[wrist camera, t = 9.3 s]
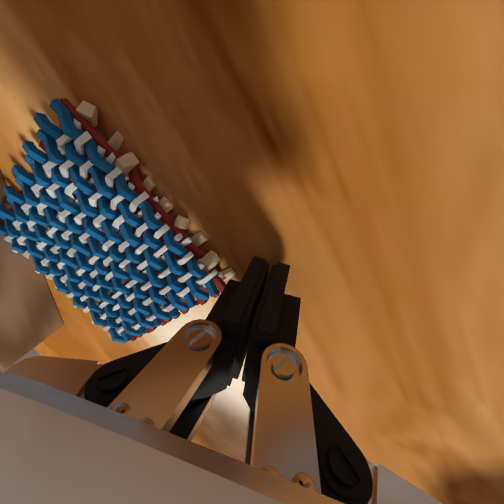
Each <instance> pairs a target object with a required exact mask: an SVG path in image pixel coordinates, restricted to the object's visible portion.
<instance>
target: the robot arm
mask: <svg viewBox="0 0 504 504" xmlns="http://www.w3.org/2000/svg"><path fill="white" fill-rule="evenodd" d="M265 262H266V259H262V258H258V257H253V259H252V261H251V263H250V265H249V267H248V269H247V271H246V273H245V275H244V277H243V279H242V280H241V282H239V281H235V280H229V281H228V283H227V285H226V286H225V288H224V290H223V291H222V293H221V295H220V296H219V298H218V300H217V301H216V303H215V305H214V306H213V308H212V310H211V311H210V313H209V315H208V316H207V318H206V320H201V319H199V320H194V321H191V322H189V323H187V324H185V325H184V326H183V327H182V328H181V329H180V330H179V331H178V332H177V333H176V334H175V335H174V336H173V337H172V338H171V339H170V340H169V342H166V343H163V344H160V345H157V346H154V347H151V348H148V349H145V350H142V351H139V352H137V353H134V354H131V355H128V356H125V357H122V358H119V359H116V360H113V361H111V362H108V363H106V364H104V365H102V364H100V363H99V361H92V360H81V359H70V358H59V357H48V356H35V357H30V358H27V359H24V360H22V361H20V362H18V363H16V364H14V365H13V366H11V367H10V368H9V369H8V370H7V371H5V372H4V373H2V372H0V504H443V503H441V502H439V501H438V500H436V499H435V498H433V497H431V496H430V495H428V494H427V493H425V492H423V491H422V490H420V489H419V488H417V487H416V486H414V485H412V484H411V483H409V482H408V481H406V480H404V479H403V478H401V477H400V476H398V475H396V474H395V473H393V472H392V471H390V470H388V469H387V468H385V467H384V466H382V465H381V464H379V463H378V464H377V465H374V464H372V463H371V462H369V461H368V460H366V459H365V457H364V455H363V454H362V452H361V450H360V449H359V448H358V446H357V445H356V444H355V442H354V441H353V440H352V438H351V437H350V436H349V434H348V433H347V432H346V430H345V429H344V428H343V426H342V425H341V424H340V422H339V421H338V420H337V418H336V417H335V416H334V414H333V413H332V412H331V410H330V409H329V408H328V407H327V405H326V404H325V403H324V401H323V400H322V399H321V397H320V396H319V395H318V393H317V392H316V391H315V389H314V388H313V387H312V385H311V384H310V383H309V375H308V367H307V363H306V360H305V358H304V357H303V355H302V354H301V353H300V352H299V351H298V350H297V349H296V348H295V344H296V336H297V327H298V318H299V310H300V301H301V299H300V298H298V297H294V296H291V295H287V294H284V291H285V286H286V282H287V277H288V273H289V268H290V265H287V264H282V263H278V265H273V266H272V269H271V272H270V274H269V277H268V280H267V283H266V279H267V274H268V269H269V263H265ZM265 284H266V286H265ZM246 353H247V354H246ZM245 356H246V359H245ZM244 359H245V365H244V370H243V376H242V381H244V382H245V387H244V392H243V396H244V398H245V400H246V402H247V404H248V406H249V408H250V410H249V416H248V425H247V435H246V444H245V453H244V462H241V461H238V460H236V459H233V458H231V457H228V456H226V455H223V454H221V453H218V452H216V451H213V450H211V449H208V448H206V447H203V446H201V445H198V444H196V443H193V442H191V440H192V438H193V437H194V435H195V433H196V431H197V429H198V428H199V426H200V424H201V422H202V420H203V419H204V417H205V415H206V413H207V412H208V410H209V408H210V406H211V404H212V403H213V401H214V399H215V396H216V394H217V393H218V392H220V391H222V390H224V389H226V387H227V385H228V386H230V384H231V381H232V379H233V378H235V379H238V377H239V374H240V371H241V368H242V365H243V362H244Z"/></svg>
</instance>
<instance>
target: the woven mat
mask: <svg viewBox="0 0 504 504" xmlns="http://www.w3.org/2000/svg"><path fill="white" fill-rule="evenodd" d="M50 107H51V108H52V109H53V110H54V111H55V112H56V114H57V116H58V119H59V122H60V126H61V128H62V130H61V129H60V128H58V127H57V126H56V125H54V124H53V123H51V122H50V121H49V119H48V118H47V116H46V115H45V114H41V113H38V112H36V115H35V118H34V120H35V122H36V123H37V124H38V126H39V127H40V128H41V129H39V130H38V132H37V134H36V135H37V136H38V137H39V138H40V139H41V141H40V143H39V146H40V147H41V148H42V149H43V150H44V151H45V152H46V153H47V154H45V153H43V152H42V151H40V150H39V149H37V148H36V146H35V145H34V143H33V142H30V141H24V142H23V145H22V147H23V149H24V150H25V151H26V153H27V154H28V155H27V156H26V158H25V161H26V162H28V163H29V164H30V165H31V168H32V171H33V174H34V175H33V174H31V173H27V172H26V171H25V170H24V168H23V167H22V166H18V165H13V168H12V171H13V173H14V174H15V176H16V180H15V182H16V183H17V184H19V185H20V186H21V188H22V191H21V192H16V191H15V189H14V188H13V187H12V186H4V189H3V191H4V193H5V194H6V196H7V199H6V200H7V201H8V202H10V205H11V206H12V207H13V208H9V209H7V207H6V206H5V204H0V218H2V219H3V220H4V223H5V226H6V227H4V226H1V225H0V234H1V235H4V236H6V237H5V238H4V240H6V241H7V242H10V243H12V251H13V252H15V253H18V252H20V253H23V254H22V255H23V256H25V257H26V258H28V259H29V256H32V258H33V261H34V265H35V268H36V271H35V272H37V273H38V274H39V273H44V274H48V275H47V276H46V278H47V279H49V280H54V282H55V288H56V289H57V290H58V291H61V292H65V293H68V295H67V297H68V298H73V306H74V307H81V308H85V309H84V310H83V312H86V313H87V312H88V311H89V310H90V312H91V315H92V318H93V322H92V323H93V324H95V325H101V326H105V327H103V330H104V331H107V330H109V333H110V334H108V335H109V336H110V337H112V340H113V341H117V342H121V343H126V342H127V341H129V340H131V341H134V340H135V339H136V338H137V337H141V336H142V335H143V334H145V333H149V332H152V331H154V330H155V329H156V328H157V326H160V325H162V326H164V325H165V324H167V323H168V322H170V321H171V320H172V319H173V318H174V319H176V318H178V317H179V316H180V314H181V313H180V312H179V311H178V309H179V310H180V311H181V312H182V313H183V314H185V313H187V312H188V311H189V308H191V307H193V306H195V305H199V304H201V305H203V304H205V303H206V302H207V301H208V299H209V294H210V296H211V297H212V296H213V297H214V298H215V297H217V296H219V293H220V292H221V293H222V291H223V290H224V288H225V286H226V284H225V283H224V282H225V281H227V280H229V279H230V278H231V277H233V276H234V275H235V274H236V273H235V272H234V271H233V270H232V268H231V267H229V268H227V269H225V270H223V271H221V272H217V268H216V265H217V264H218V263H219V262H220V261H221V259H220V258H219V257H218V255H217V254H216V253H215V252H214V251H212V250H211V251H209V252H208V253H207V252H205V251H203V250H201V249H199V248H198V247H199V246H201V245H202V244H203V243H204V242H206V241H207V240H208V239H207V238H206V237H205V235H204V234H203V233H202V232H201V231H200V232H198V233H197V234H195V235H193V236H192V237H191V238H190V237H189V238H187V237H186V235H185V234H184V233H183V231H184V230H186V229H187V228H188V224H189V219H187V218H185V217H182V216H179V215H178V216H177V217H176V219H175V220H174V221H173V220H172V219H171V218H170V216H169V215H168V214H167V213H168V212H169V211H170V210H172V209H173V205H172V204H171V203H170V201H169V200H168V199H167V198H166V197H165V196H164V197H163V198H161V199H160V200H159V201H158V196H156V197H155V198H154V197H153V196H152V195H151V194H150V192H151V191H152V190H153V189H154V188H155V187H156V185H155V184H154V182H153V181H152V180H151V179H150V178H149V176H148V177H147V178H146V179H145V180H144V181H143V182H141V179H140V176H139V173H138V171H137V170H136V168H135V166H136V165H137V164H138V163H139V161H138V159H137V158H136V157H135V155H134V154H133V153H132V152H128V153H126V154H124V155H122V154H120V153H118V152H117V150H118V149H119V147H120V145H121V144H122V142H123V140H124V138H123V137H122V135H121V134H120V133H119V132H118V131H117V132H116V133H115V134H114V135H113V136H112V137H111V138H110V139H109V140H108V141H107V142H106V141H105V140H104V139H103V138H102V136H101V135H100V134H99V133H98V132H97V131H96V130H95V127H96V126H97V124H98V110H97V108H96V107H95V106H94V105H92V104H90V103H88V102H86V101H84V100H83V101H82V102H81V104H80V105H79V106H78V108H77V109H76V108H75V107H74V106H73V105H72V104H71V103H70V102H69V100H68V99H62V98H61V99H60V100H59V99H58V98H57V99H54V100H52V102H51V104H50ZM72 121H73V122H74V125H73V122H72ZM56 144H57V145H58V147H59V150H60V151H59V150H58V149H57V145H56ZM113 161H114V162H113ZM68 171H69V172H68ZM69 173H70V177H69ZM128 180H130V182H129V183H128V186H127V183H126V182H127V181H128ZM55 193H56V194H55ZM88 195H89V196H90V198H88ZM56 196H57V197H56ZM109 204H110V206H109ZM56 210H57V211H56ZM136 210H137V211H139V213H138V214H137V215H136V216H134V213H135V211H136ZM93 221H94V222H93ZM152 229H153V230H154V232H155V234H154V236H153V231H152ZM140 237H141V239H139V238H140ZM11 239H12V241H11ZM24 241H25V242H24ZM177 242H178V243H177ZM135 249H136V251H135ZM160 255H163V256H162V257H161V258H159V259H157V258H158V257H159V256H160ZM195 257H196V258H198V259H197V260H196V259H195ZM47 263H49V268H48V264H47ZM207 271H208V272H207ZM75 273H77V275H76V274H75ZM61 276H63V277H62V278H61ZM161 278H163V279H164V280H165V281H164V280H162V279H161ZM65 283H67V285H66V286H65ZM182 283H184V284H182ZM217 288H218V289H219V290H220V291H219V290H218V289H217ZM175 291H176V292H175ZM113 292H114V293H115V294H114V293H113ZM164 295H165V296H166V297H167V298H166V297H165V296H164ZM85 300H86V301H87V302H84V301H85ZM97 304H98V305H97ZM99 313H100V314H102V315H99ZM105 318H106V320H103V319H105ZM146 330H147V331H146ZM121 335H122V336H121Z"/></svg>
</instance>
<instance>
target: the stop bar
mask: <svg viewBox="0 0 504 504" xmlns="http://www.w3.org/2000/svg"><path fill="white" fill-rule="evenodd" d="M4 186H6V183H5V181H4V179H3V176H2V174H1V171H0V204H5V206H6V207H7V209H9V208H13V207H12V206H11V205H10V202H8V201H7V200H6V199H7V196H6V194H5V193H4V191H3V189H4ZM0 225H1V226H4V227H6V226H5V223H4V220H3V219H2V218H0ZM5 237H6V236H4V235H1V234H0V368H2V369H7V368H8V367H9V366H11V365H12V364H13V363H14V362H16V361H17V360H18V359H20V358H21V357H22V356H24V355H25V354H26V353H28V352H29V351H30V350H32V349H33V348H34V347H35V346H37V345H38V344H39V343H41V342H42V341H43V340H45V339H46V338H47V337H49V336H50V335H51V334H52V333H54V332H55V331H56V330H58V329H59V328H60V327H62V326H63V325H64V323H63V321H62V319H61V316H60V314H59V311H58V309H57V306H56V304H55V302H54V299H53V297H52V294H51V292H50V290H49V287H48V285H47V282H46V280H45V278H44V275H43V273H39V274H38V273H37V272H35V271H36V268H35V265H34V261H33V258H32V256H29V259H28V258H26V257H25V256H23V255H22V254H23V253H20V252H18V253H15V252H13V251H12V243H10V242H7V241H6V240H4V238H5ZM11 241H12V239H11ZM24 242H25V241H24Z"/></svg>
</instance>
